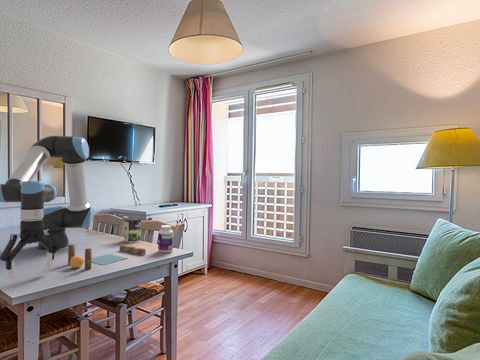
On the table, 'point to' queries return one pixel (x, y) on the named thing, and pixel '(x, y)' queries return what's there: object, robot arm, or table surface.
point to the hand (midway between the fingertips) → (31, 272)
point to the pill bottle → (165, 239)
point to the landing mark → (107, 259)
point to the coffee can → (132, 230)
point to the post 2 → (88, 258)
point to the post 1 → (71, 252)
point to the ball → (76, 261)
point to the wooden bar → (132, 249)
